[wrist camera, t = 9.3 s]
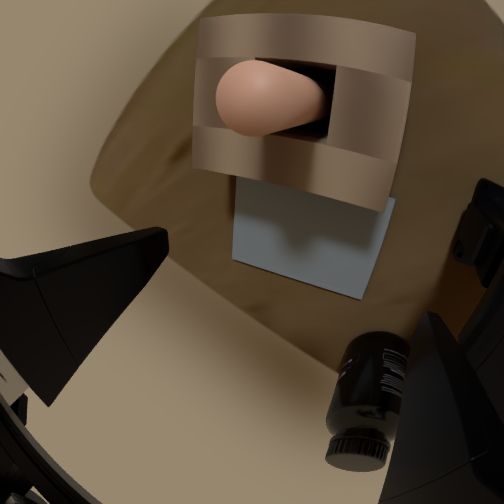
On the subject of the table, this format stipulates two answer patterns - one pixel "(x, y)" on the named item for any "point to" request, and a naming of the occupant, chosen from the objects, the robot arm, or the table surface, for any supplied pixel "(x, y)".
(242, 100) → the dowel
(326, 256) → the mat
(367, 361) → the supplement bottle
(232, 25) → the socket block
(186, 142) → the table surface
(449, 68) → the table surface
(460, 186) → the table surface
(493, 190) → the robot arm
